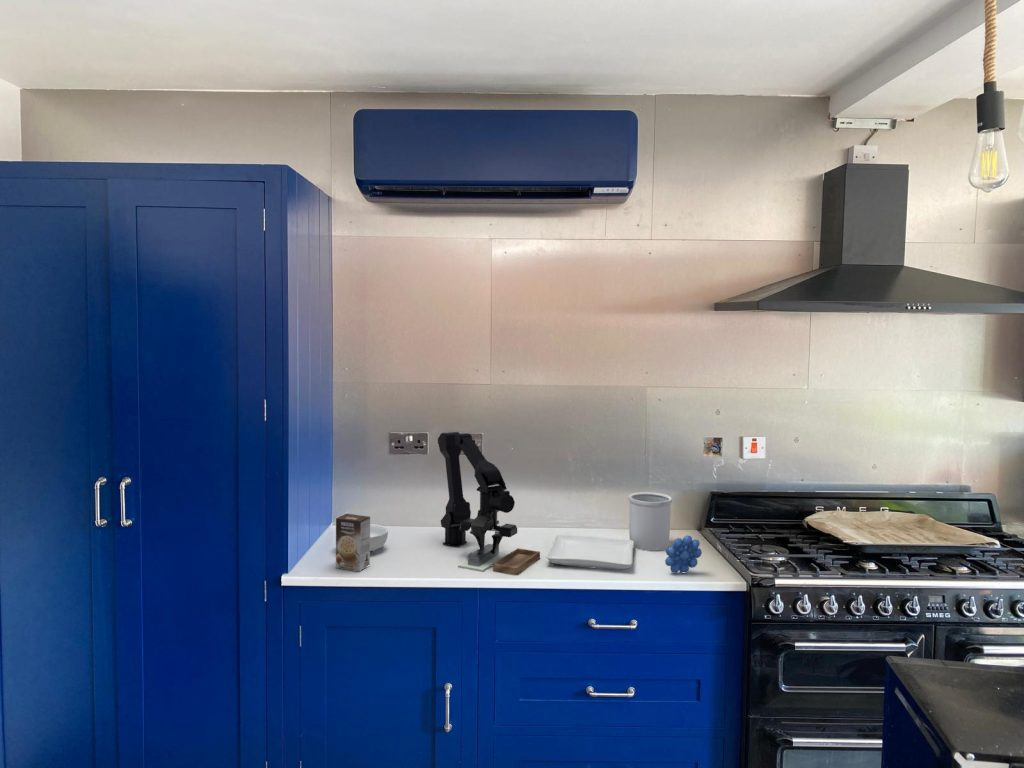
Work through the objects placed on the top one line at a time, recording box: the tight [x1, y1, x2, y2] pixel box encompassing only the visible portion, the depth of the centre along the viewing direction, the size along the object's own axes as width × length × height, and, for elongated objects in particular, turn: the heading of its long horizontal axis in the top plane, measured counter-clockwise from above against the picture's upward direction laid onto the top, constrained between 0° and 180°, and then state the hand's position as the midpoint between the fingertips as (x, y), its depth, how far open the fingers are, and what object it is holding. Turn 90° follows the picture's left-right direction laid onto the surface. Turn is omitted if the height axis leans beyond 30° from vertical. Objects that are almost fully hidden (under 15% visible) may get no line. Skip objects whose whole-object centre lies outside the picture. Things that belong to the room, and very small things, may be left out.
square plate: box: [545, 534, 634, 570], centre depth 221 cm, size 27×27×4 cm
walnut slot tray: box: [492, 548, 541, 576], centre depth 213 cm, size 8×18×2 cm, turn 155°
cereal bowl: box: [370, 523, 389, 552], centre depth 226 cm, size 17×17×7 cm
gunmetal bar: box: [467, 543, 500, 567], centre depth 216 cm, size 4×14×3 cm, turn 155°
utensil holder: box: [628, 491, 673, 552], centre depth 235 cm, size 15×15×18 cm
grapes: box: [664, 535, 703, 573], centre depth 207 cm, size 12×7×12 cm, turn 96°
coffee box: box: [335, 513, 371, 572], centre depth 209 cm, size 9×6×16 cm
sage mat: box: [457, 551, 509, 572], centre depth 216 cm, size 9×18×1 cm, turn 155°
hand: (488, 553), depth 219 cm, fingers closed on gunmetal bar, 4 cm apart
